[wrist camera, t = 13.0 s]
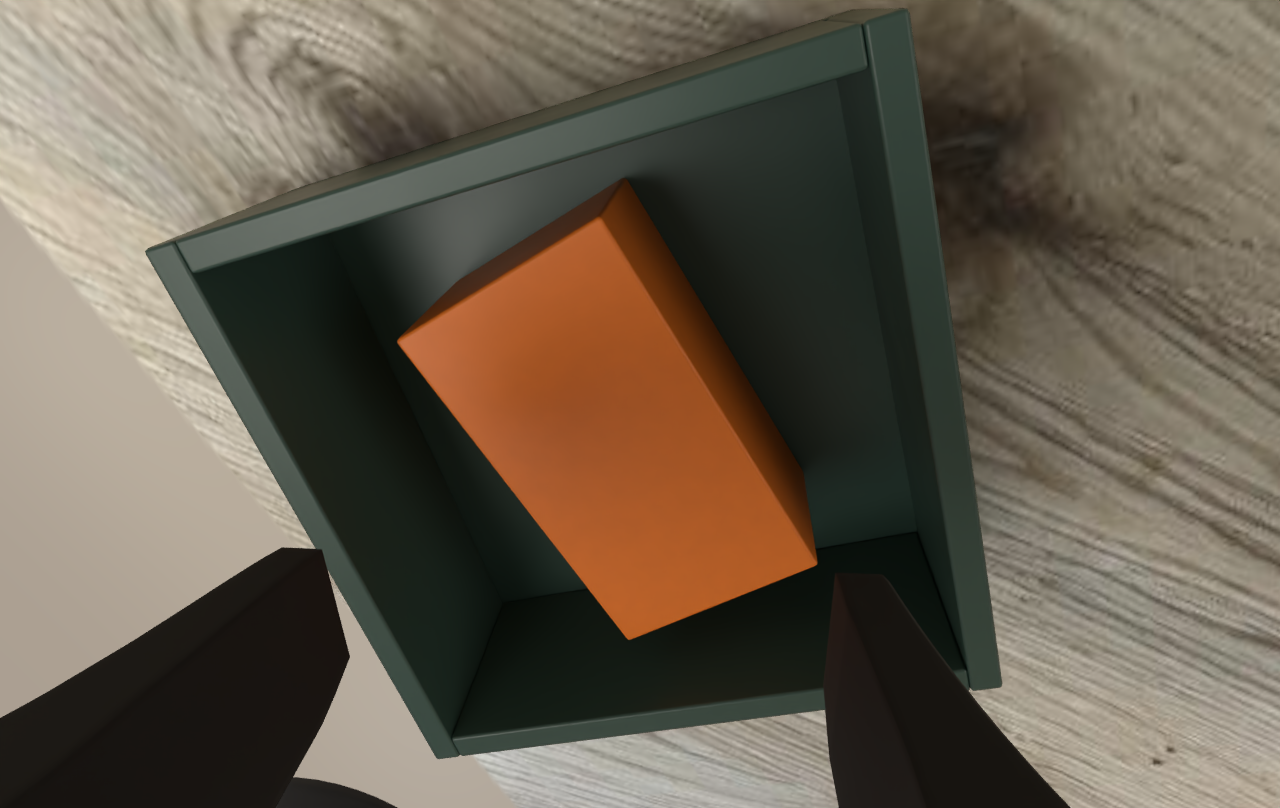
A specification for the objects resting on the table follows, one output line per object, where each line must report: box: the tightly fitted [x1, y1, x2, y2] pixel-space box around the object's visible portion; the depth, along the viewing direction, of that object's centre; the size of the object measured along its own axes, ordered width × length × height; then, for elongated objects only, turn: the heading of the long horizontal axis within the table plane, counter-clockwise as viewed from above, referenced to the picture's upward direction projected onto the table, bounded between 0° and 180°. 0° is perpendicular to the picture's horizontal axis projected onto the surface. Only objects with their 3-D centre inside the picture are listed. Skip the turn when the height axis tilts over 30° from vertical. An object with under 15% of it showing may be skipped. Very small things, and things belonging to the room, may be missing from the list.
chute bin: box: [145, 8, 1002, 759], centre depth 16 cm, size 12×12×5 cm
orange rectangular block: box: [397, 178, 817, 640], centre depth 16 cm, size 4×8×4 cm, turn 32°
